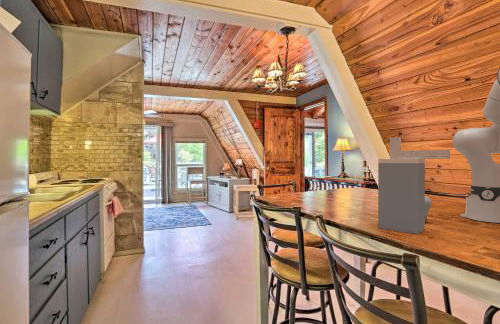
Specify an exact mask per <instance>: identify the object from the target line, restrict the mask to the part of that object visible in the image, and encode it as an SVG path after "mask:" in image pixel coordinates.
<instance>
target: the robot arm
mask: <svg viewBox="0 0 500 324" xmlns="http://www.w3.org/2000/svg"><path fill="white" fill-rule="evenodd" d="M482 114H483V117H484V118H485V119H486V120H487V121H489V122H491V123H492V125H491V126H489V127H469V128H464V129H460V130H458V131H457V132H456V133H455V134H453V137H452V146H453V147H454V149H455V150H456V151H457V152H458V153H460V154H461V155H463V156H464V157H465V159H466V161H467V162H468V164H469V166H470V170H471V185H470V189H469V190H470V195H469V196H468V197H467V198H466V199H465V212H464V213H461V214H460V217H462V218H466V219H469V220H470V219H471V220H474V221H479V222H484V223H485V222H486V223H498V224H500V163H499V162H496V161H495V160H494V159H493V157H492V154H500V67H499V68H498V71H497V74H496V79H495V81H494V83H493V85H492V87H491V89H490V91H489V93H488V95H487V99H486V101H485V104H484V106H483V110H482Z"/></svg>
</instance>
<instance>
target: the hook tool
mask: <svg viewBox="0 0 500 324" xmlns="http://www.w3.org/2000/svg"><path fill="white" fill-rule="evenodd" d="M450 157H451V149H426V150H425V149H420V150H419V149H418V150H417V149H414V150H402V137H401V136H399V137H398V136H397V137H395V136H394V137H389V159H425V160H431V159H432V160H435V159H436V160H442V159H443V160H445V159H446V160H448V159H451V158H450Z"/></svg>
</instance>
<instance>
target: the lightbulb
mask: <svg viewBox="0 0 500 324" xmlns="http://www.w3.org/2000/svg"><path fill="white" fill-rule="evenodd" d="M432 205H433V201H432V199H431V198H430V197H429V196H427V195H425V222H427V221H428V220H427V219H428V215H429V211H430V209H431V208H432Z"/></svg>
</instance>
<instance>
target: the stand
mask: <svg viewBox="0 0 500 324" xmlns="http://www.w3.org/2000/svg"><path fill="white" fill-rule="evenodd" d="M425 160H426V159H390V158H378V160H377V161H378V162H377V164H378V165H377V167H378V170H377V172H378V173H377V174H378V177H377V179H378V181H377V183H378V184H377V186H378V187H377V189H378V190H377V193H378V195H377V198H378V199H377V201H378V202H377V203H378V204H377V205H378V206H377V207H378V208H377V209H378V210H377V213H378V214H377V215H378V218H377V219H378V221H377V223H378V224H377V226H378V227H377V228H378V229H381V230H388V231H389V230H390V231H395V232H402V233H407V234H413V235H419V234H420V233H422V232H423V231H424V230H425V228H426V227H425V226H426V225H425V224H426V223H425V222H426V221H425V196H426V193H425V192H426V190H425V188H426V186H425V185H426V184H425V183H426V180H425V179H426V177H425V176H426V175H425V173H426V171H425V169H426V168H425V167H426V161H425Z"/></svg>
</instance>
